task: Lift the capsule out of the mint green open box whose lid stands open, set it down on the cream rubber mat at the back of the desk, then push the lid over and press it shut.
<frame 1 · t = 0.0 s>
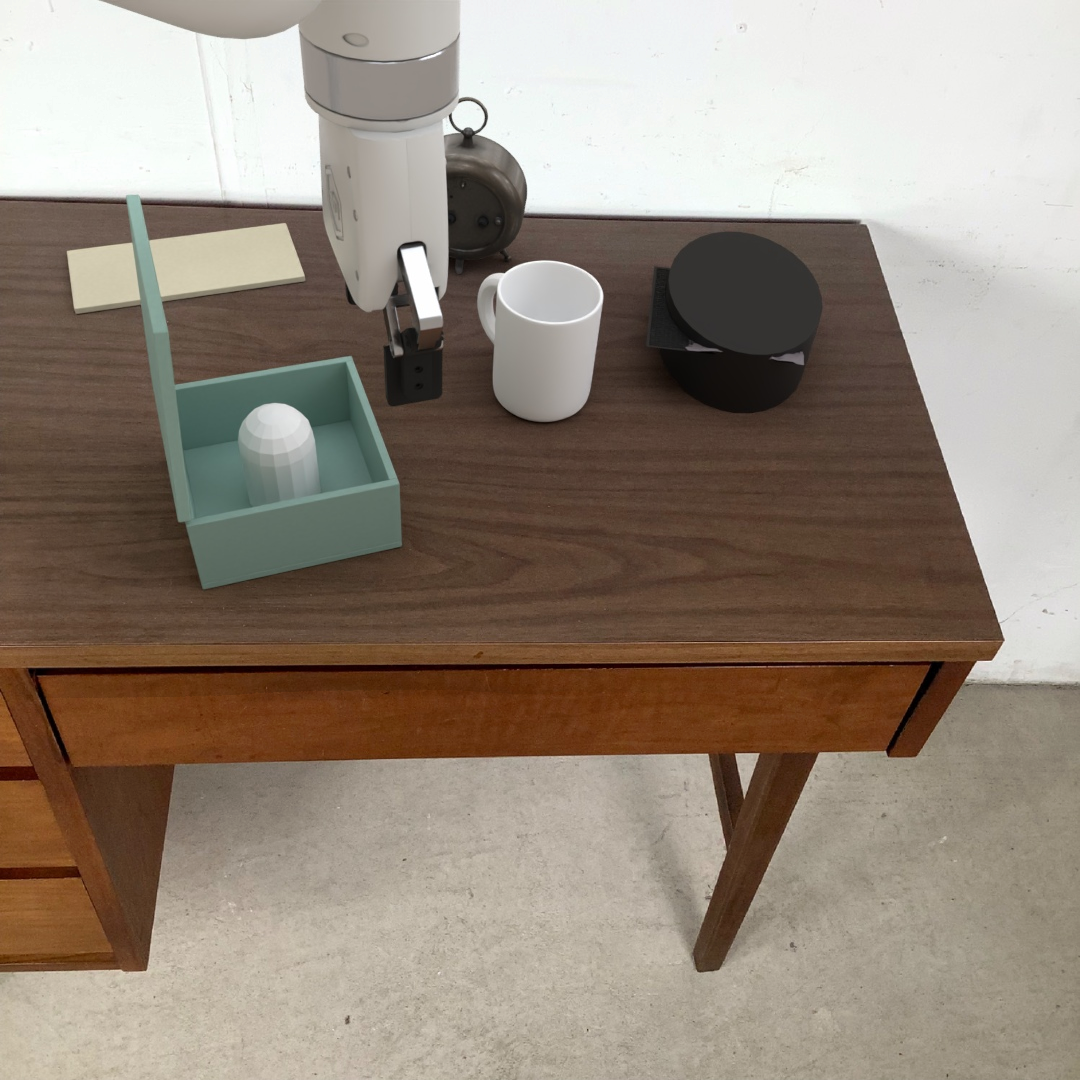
hand: (392, 347, 64), 18 cm above the table, tool pointing down, fingers open, 9 cm apart
mint green open box: (285, 498, 80), on the table
alarm clock: (463, 263, 102), on the table
capsule: (284, 494, 80), resting on mint green open box
mug: (525, 383, 91), on the table
mat: (187, 268, 98), on the table
black round box: (723, 347, 96), on the table
lid: (159, 360, 67), point 15 cm above the table, hinge at 85.0°
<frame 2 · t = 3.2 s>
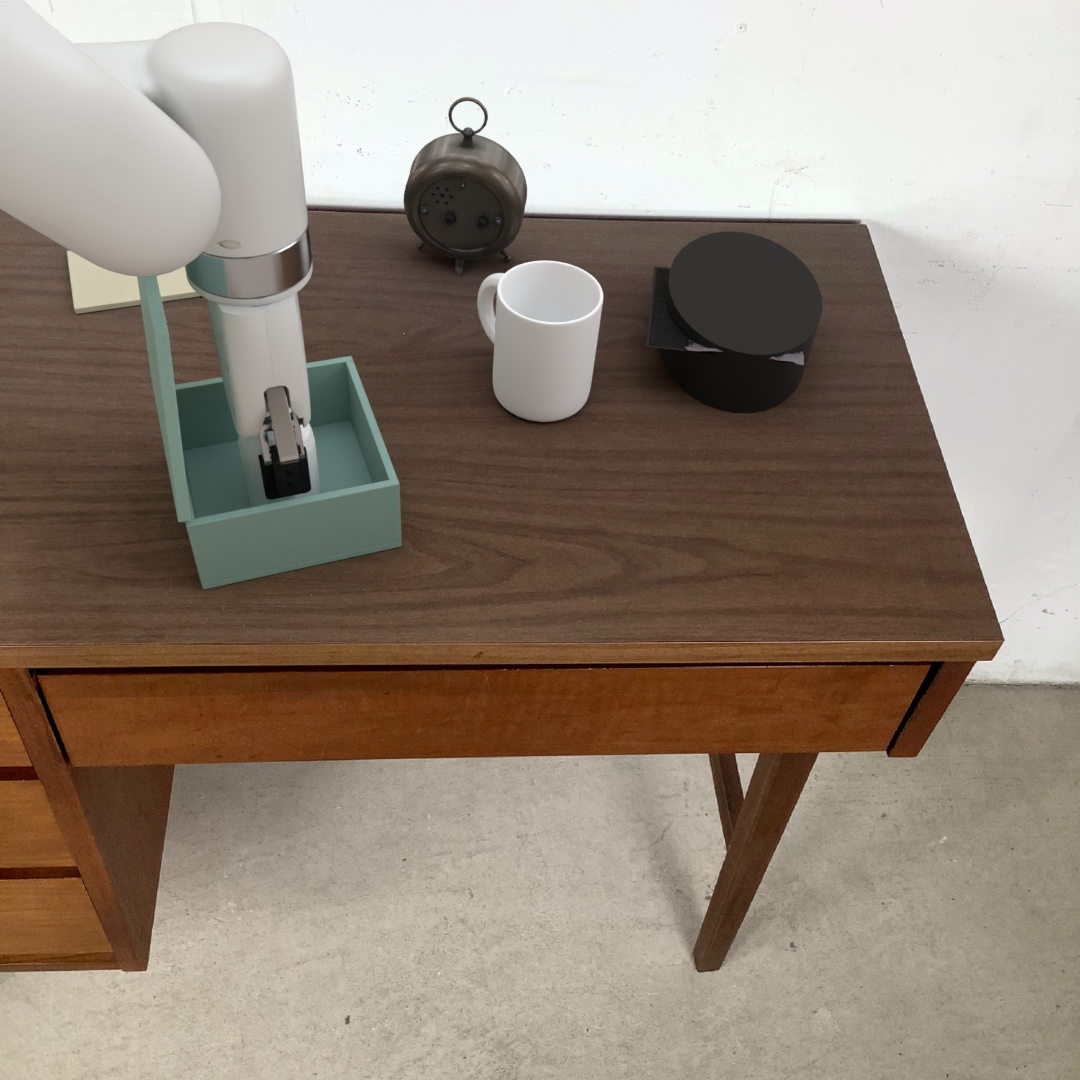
hand: (280, 462, 77), 4 cm above the table, tool pointing down, fingers closed on capsule, 5 cm apart
capsule: (284, 494, 80), resting on mint green open box, touching gripper
everything else where it was.
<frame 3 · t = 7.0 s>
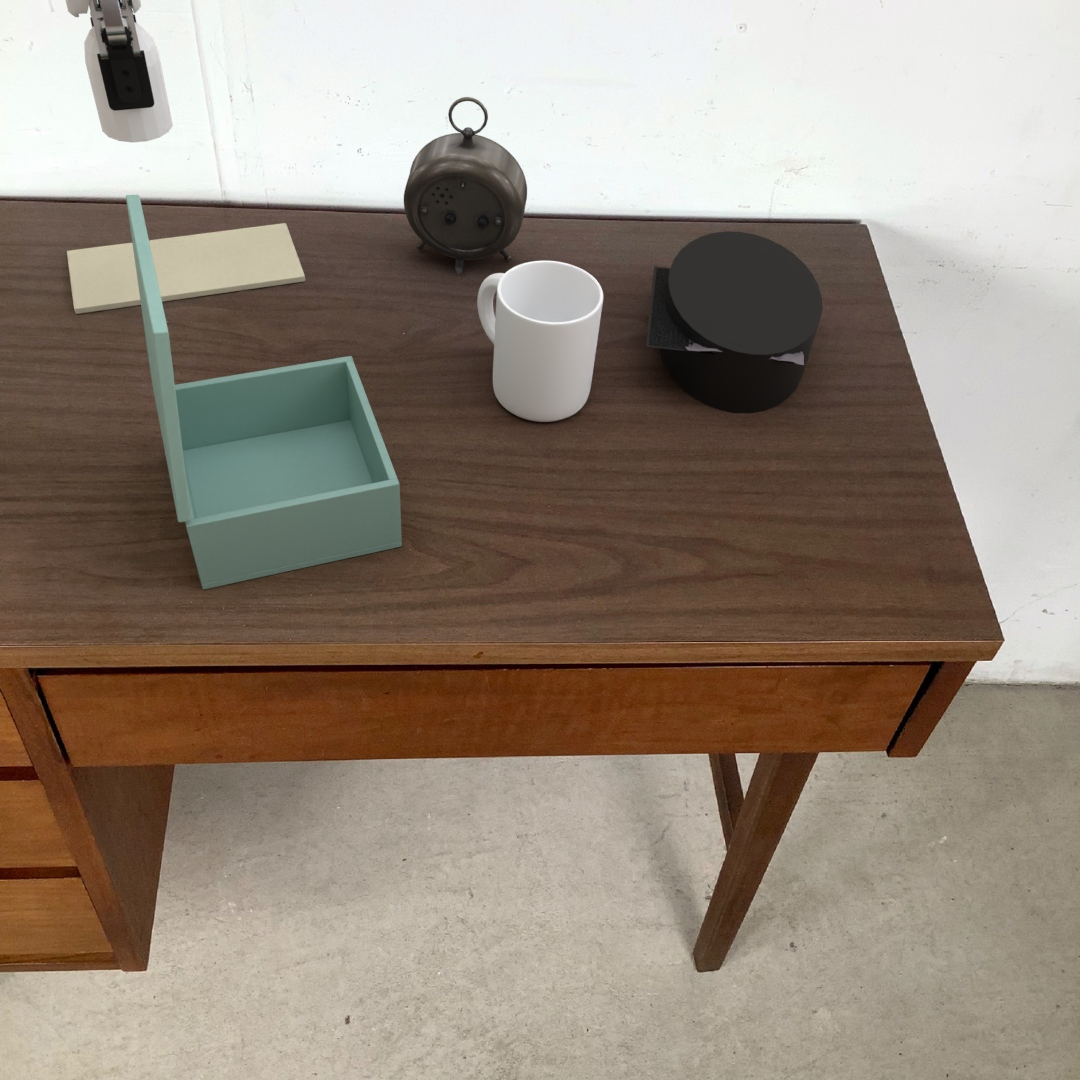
hand: (127, 85, 81), 19 cm above the table, tool pointing down, fingers closed on capsule, 5 cm apart
capsule: (137, 127, 83), point 16 cm above the table, touching gripper
everything else where it was.
when the fingers open (4 cm above the table, at t = 10.9 s): capsule stays where it is, resting on mat.
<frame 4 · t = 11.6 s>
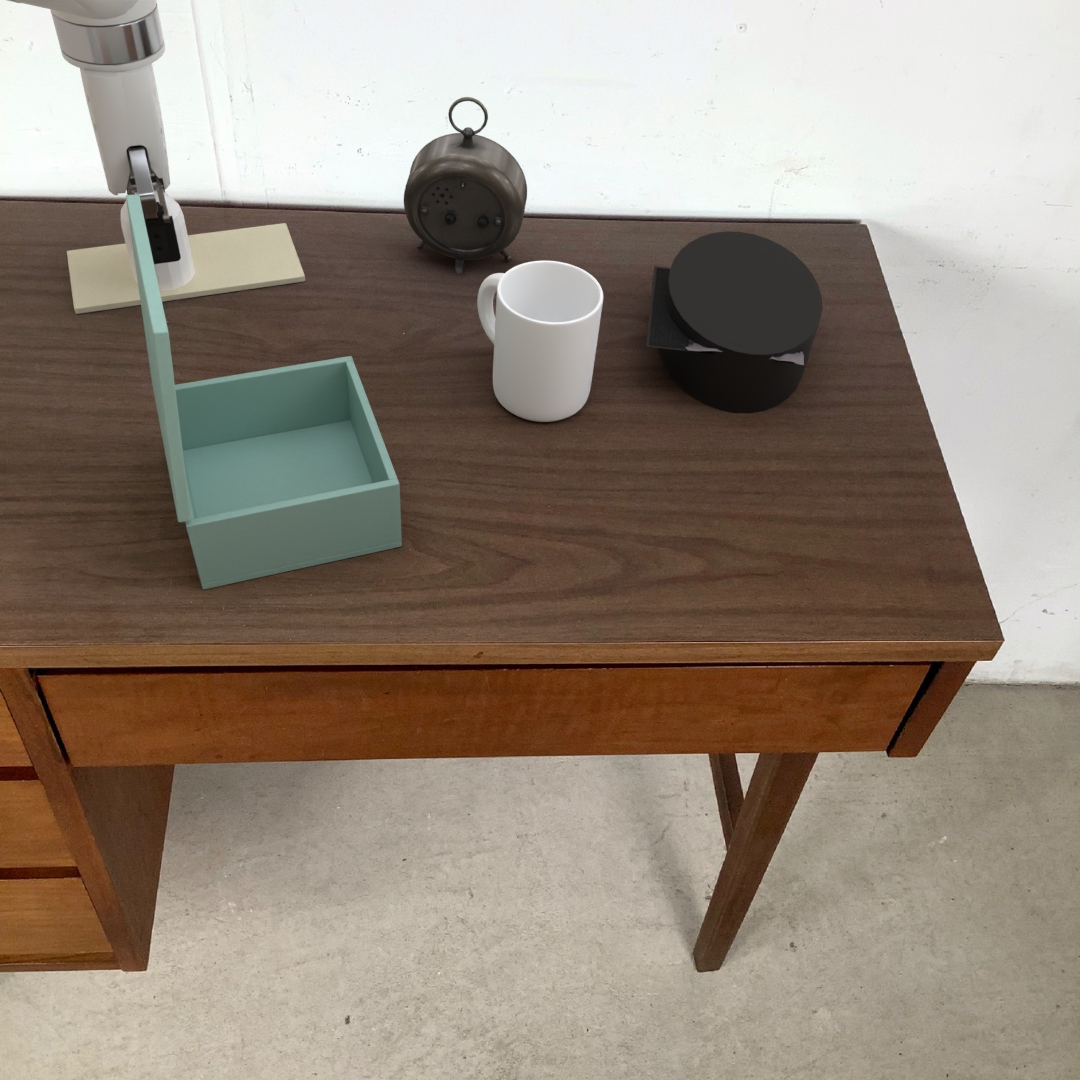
hand: (154, 229, 93), 5 cm above the table, tool pointing down, fingers open, 9 cm apart
capsule: (165, 274, 96), resting on mat
everything else where it was.
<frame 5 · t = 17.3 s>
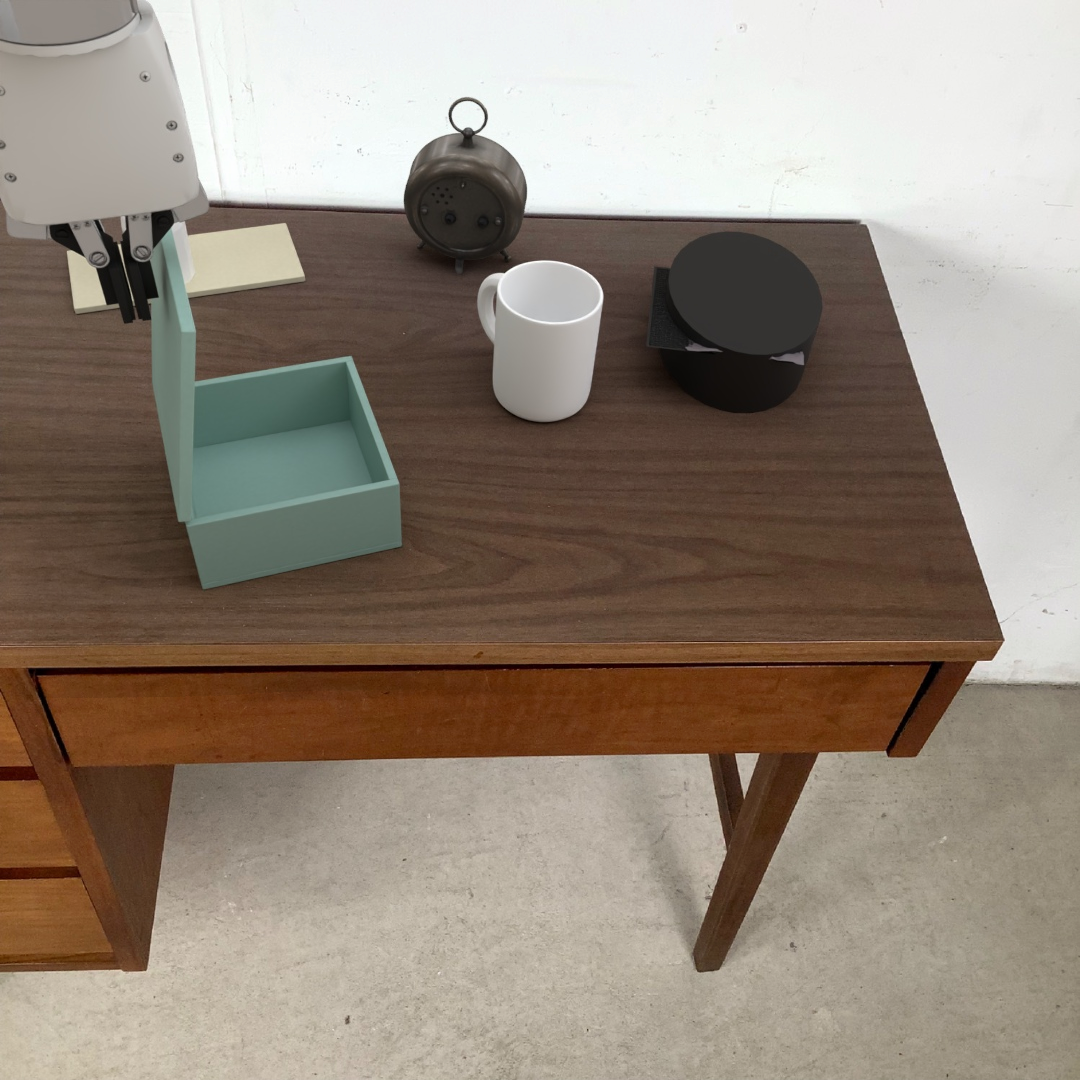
hand: (135, 307, 64), 19 cm above the table, tool pointing down, fingers closed
lid: (171, 360, 68), point 14 cm above the table, hinge at 79.4°, touching gripper
everything else where it was.
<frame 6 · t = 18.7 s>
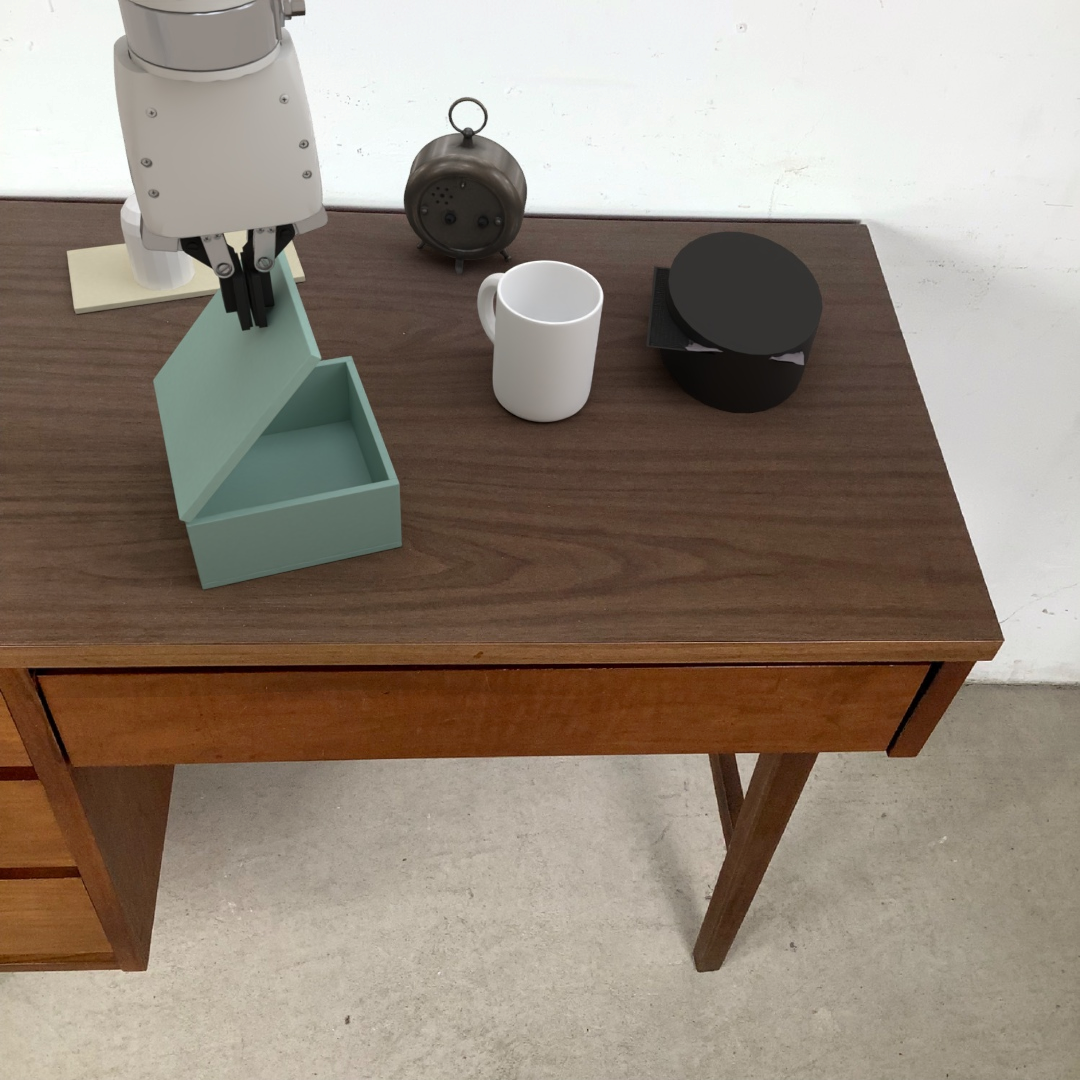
hand: (250, 315, 67), 17 cm above the table, tool pointing down, fingers closed
lid: (228, 370, 70), point 13 cm above the table, hinge at 50.6°, touching gripper
everything else where it was.
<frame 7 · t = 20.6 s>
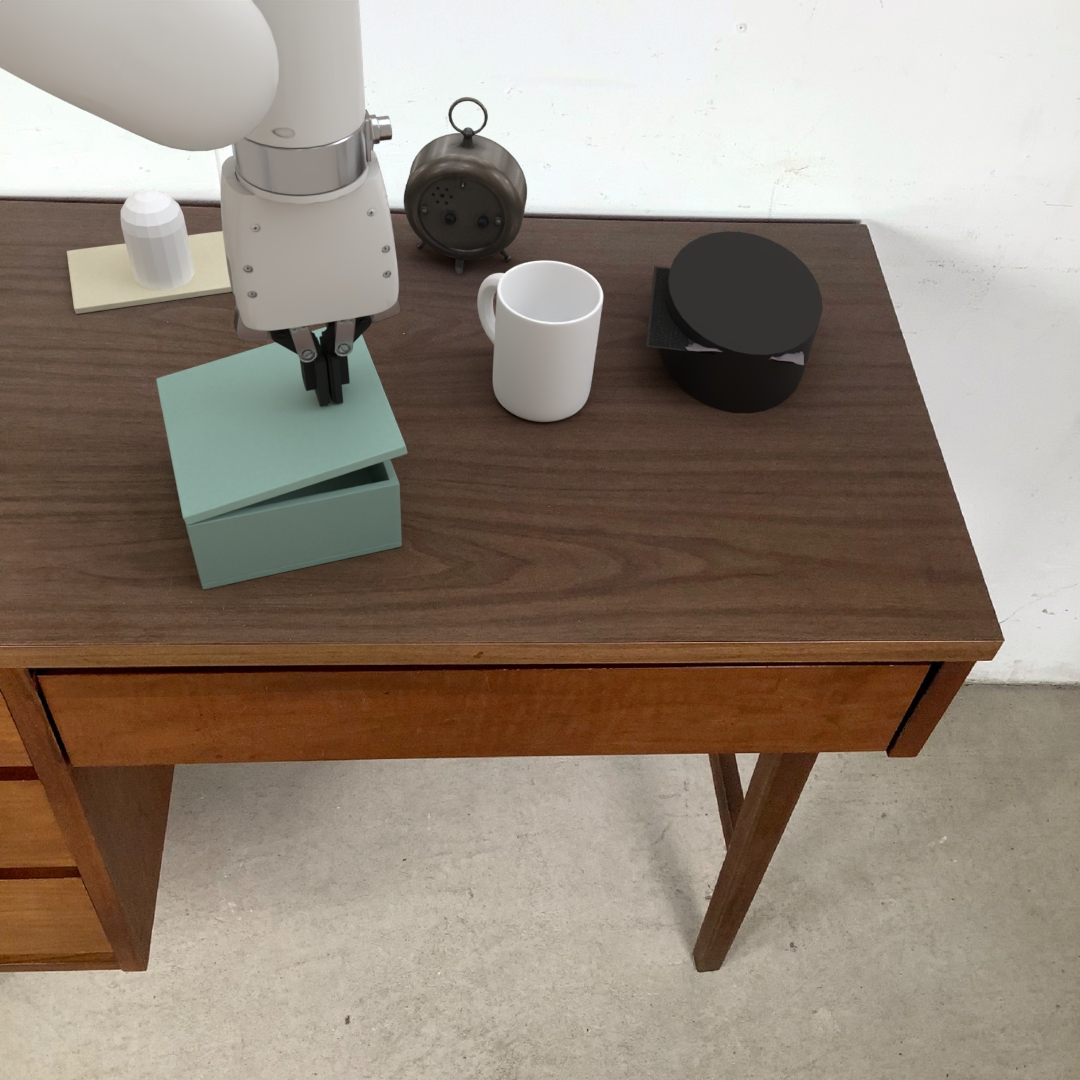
hand: (327, 391, 74), 10 cm above the table, tool pointing down, fingers closed
lid: (276, 414, 74), point 8 cm above the table, hinge at 10.0°, touching gripper
everything else where it was.
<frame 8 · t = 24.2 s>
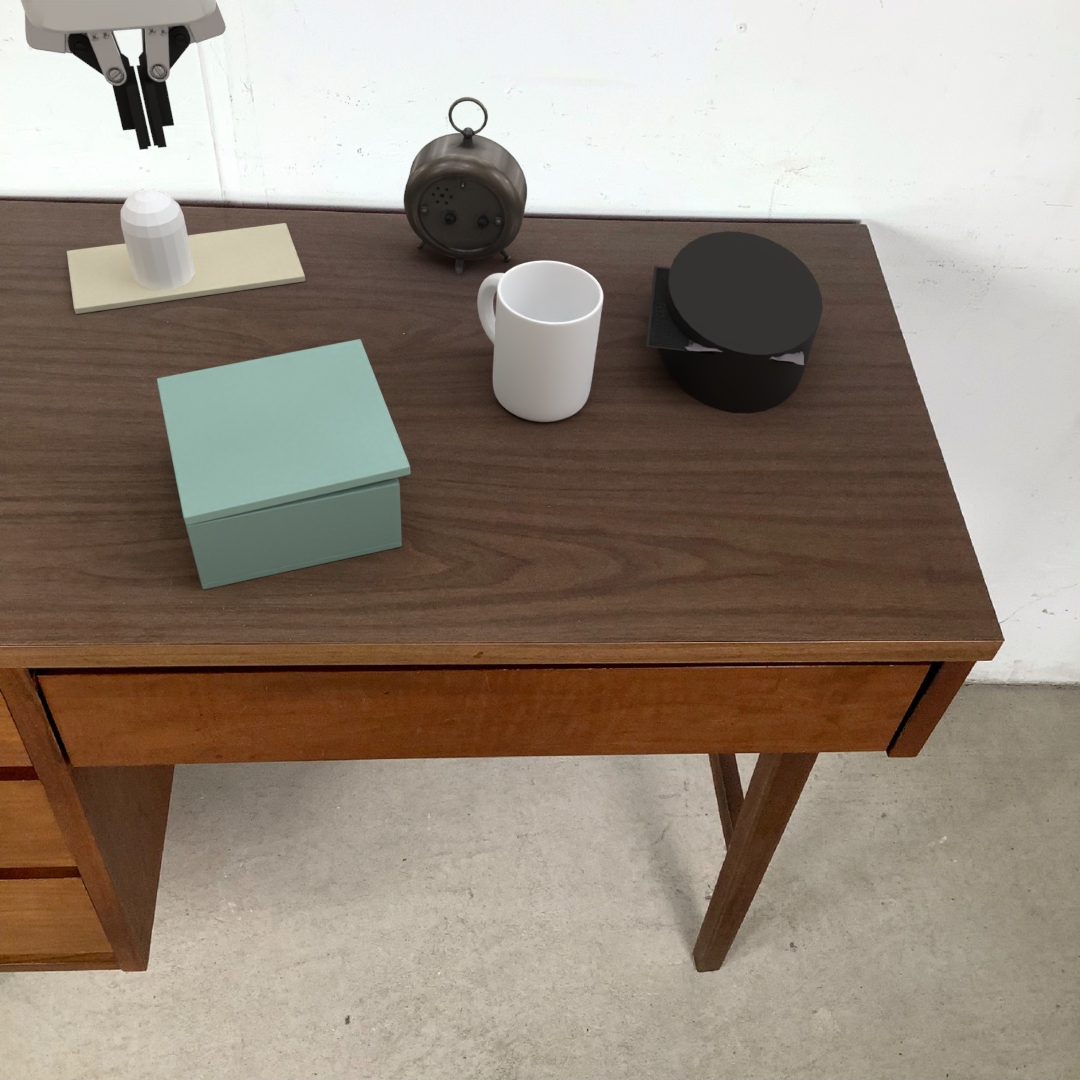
hand: (150, 136, 65), 25 cm above the table, tool pointing down, fingers closed
lid: (280, 425, 75), point 7 cm above the table, hinge at 2.3°
everything else where it was.
at the end: capsule inside the target area on the mat (2.3 cm from its centre), point 0.4 cm above the mat's base; capsule tilted 0°; lid at +2° (first picture: +85°) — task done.
